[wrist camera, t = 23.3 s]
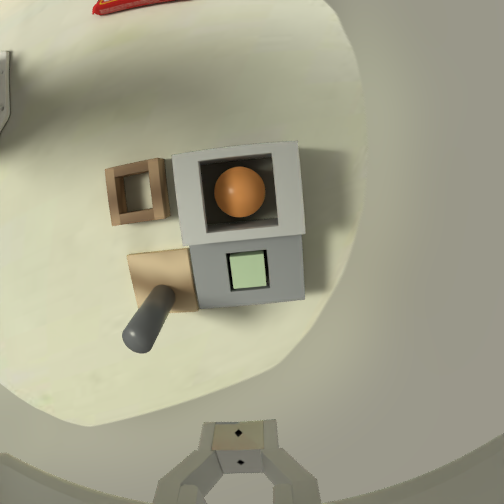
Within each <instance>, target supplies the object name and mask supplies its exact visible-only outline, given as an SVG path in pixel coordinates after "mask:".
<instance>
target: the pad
mask: <svg viewBox="0 0 504 504" xmlns="http://www.w3.org/2000/svg"><path fill="white" fill-rule="evenodd" d="M127 260H128V265H129V270H130V275H131V279H132V284H133V288H134V292H135V296H136V301H137V305H138V309H139V308H140V306H141V305H142V304H143V302H144V301H145V299H146V298H147V297H148V295H149V294H150V292H151V291H152V290H153V288H154V287H155V286H157V285H166V286H168V287H170V288H171V289H172V290H173V292H174V293H175V302H174V304H173V306H172V308H171V310H170V312H169V313H179V312H196V311H198V309H199V308H198V303H197V297H196V292H195V286H194V280H193V274H192V268H191V262H190V255H189V249H188V248H182V249H173V250H163V251H154V252H145V253H136V254H129V255H127Z"/></svg>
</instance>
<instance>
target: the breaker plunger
mask: <svg viewBox="0 0 504 504" xmlns="http://www.w3.org/2000/svg"><path fill="white" fill-rule="evenodd" d="M214 195H215V200H216V202H217V204H218V206H219V207H220V209H221V210H222V211H224V212H225V213H226V214H228V215H230V216H234V217H246V216H249V215H251V214H253V213H255V212H256V211H257V210H258V209H259V208H260V207H261V205H262V203H263V201H264V198H265V186H264V183H263V180H262V179H261V177H260V176H259V175H258V174H257V173H256V172H255V171H253V170H251V169H249V168H246V167H234V168H230V169H228V170H226V171H225V172H224V173H222V174H221V176H220V177H219V178H218V180H217V182H216V184H215V189H214Z"/></svg>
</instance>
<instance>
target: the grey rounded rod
mask: <svg viewBox="0 0 504 504" xmlns="http://www.w3.org/2000/svg"><path fill="white" fill-rule="evenodd" d="M174 302H175V293H174V292H173V290H172V289H171V288H170V287H168V286H166V285H157V286H155V287H154V288H153V290H152V291H151V292H150V294H149V295H148V297H147V298H146V299H145V301H144V302H143V304H142V305H141V306H140V308H139V309H138V311H137V312H136V313H135V315H134V316H133V318H132V319H131V321H130V322H129V323H128V325H127V326H126V328H125V329H124V331H123V334H122V338H123V341H124V343H125V345H126V346H127V347H128V348H129V349H131V350H132V351H134V352H137V353H147V352H149V351H150V350H151V349H152V346H153V344H154V342H155V340H156V338H157V336H158V334H159V332H160V330H161V328H162V326H163V324H164V322H165V320H166V318H167V316H168V314H169V312H170V310H171V308H172V306H173V304H174Z"/></svg>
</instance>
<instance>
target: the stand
mask: <svg viewBox="0 0 504 504" xmlns="http://www.w3.org/2000/svg"><path fill="white" fill-rule="evenodd" d="M146 172H149V179H150V188H151V196H152V204H153V208H150V209H144V210H138V211H131V212H128V211H127V204H126V196H125V188H124V179H123V177H126V176H131V175H136V174H141V173H146ZM105 176H106V185H107V194H108V202H109V209H110V216H111V222H112V226H116V225H123V224H129V223H136V222H143V221H150V220H157V219H165V218H167V217H169V216H171V214H170V206H169V198H168V190H167V182H166V173H165V163H164V159H160V158H154V159H149V160H144V161H139V162H134V163H130V164H125V165H121V166H116V167H112V168H108V169H105Z"/></svg>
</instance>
